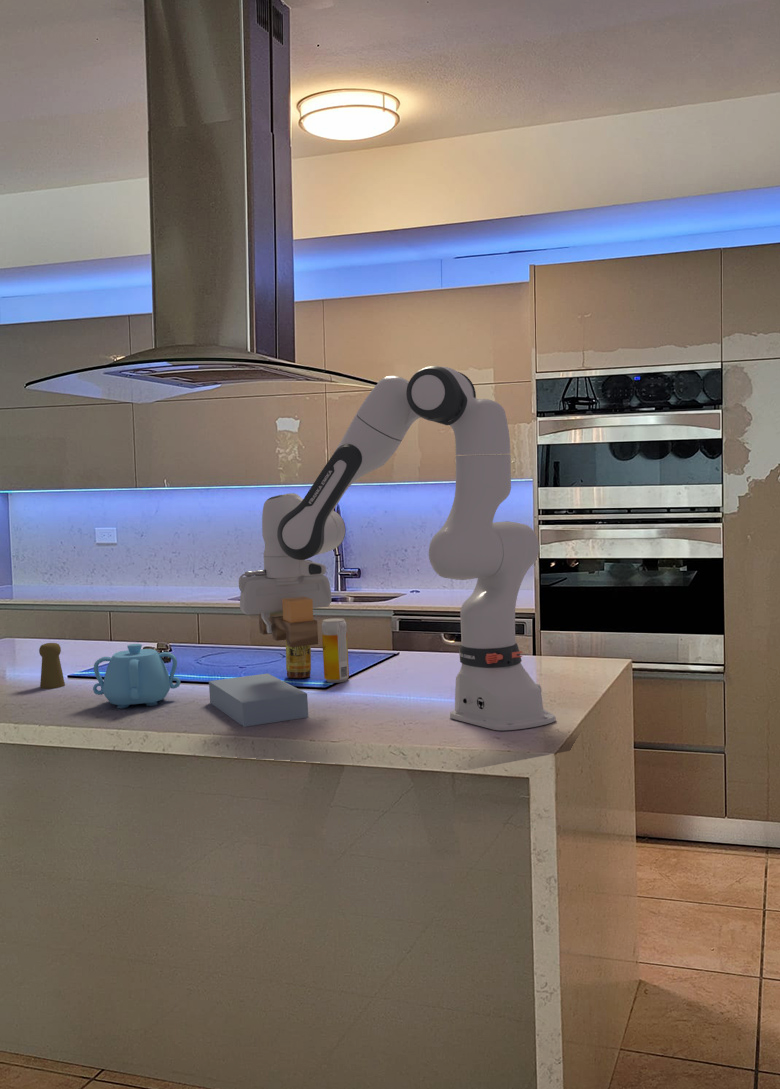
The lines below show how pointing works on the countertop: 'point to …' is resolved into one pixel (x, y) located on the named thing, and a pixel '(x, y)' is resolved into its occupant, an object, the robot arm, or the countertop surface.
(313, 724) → the countertop surface
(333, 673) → the beer can
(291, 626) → the walnut pallet
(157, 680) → the decorative pot
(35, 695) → the countertop surface
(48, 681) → the cork
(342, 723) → the countertop surface
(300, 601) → the orange crate
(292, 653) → the sauce bottle
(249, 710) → the block
